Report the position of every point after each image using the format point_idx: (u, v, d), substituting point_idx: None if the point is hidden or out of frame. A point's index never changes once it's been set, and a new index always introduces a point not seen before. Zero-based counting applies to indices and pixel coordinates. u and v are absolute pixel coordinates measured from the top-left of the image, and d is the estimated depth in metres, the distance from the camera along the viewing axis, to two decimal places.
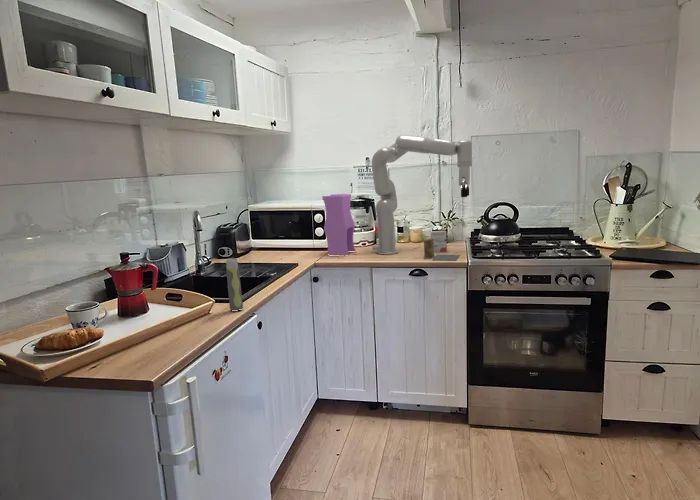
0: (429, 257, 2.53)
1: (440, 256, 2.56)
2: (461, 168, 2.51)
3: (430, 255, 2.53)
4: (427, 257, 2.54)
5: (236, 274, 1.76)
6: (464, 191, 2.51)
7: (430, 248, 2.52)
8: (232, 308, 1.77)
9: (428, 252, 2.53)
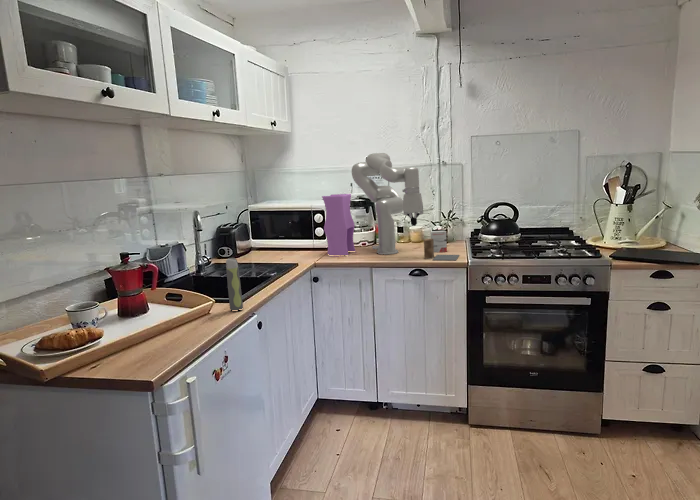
0: (429, 257, 2.53)
1: (440, 256, 2.56)
2: (420, 194, 2.51)
3: (430, 255, 2.53)
4: (427, 257, 2.54)
5: (236, 274, 1.76)
6: (416, 219, 2.55)
7: (430, 248, 2.52)
8: (232, 308, 1.77)
9: (428, 252, 2.53)
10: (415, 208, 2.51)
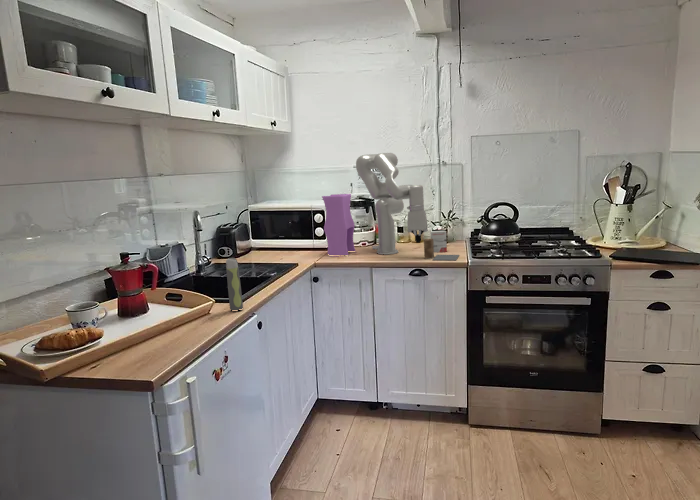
0: (429, 257, 2.53)
1: (440, 256, 2.56)
2: (424, 212, 2.52)
3: (430, 255, 2.53)
4: (427, 257, 2.54)
5: (236, 274, 1.76)
6: (420, 236, 2.56)
7: (430, 248, 2.52)
8: (232, 308, 1.77)
9: (428, 252, 2.53)
10: (419, 225, 2.52)
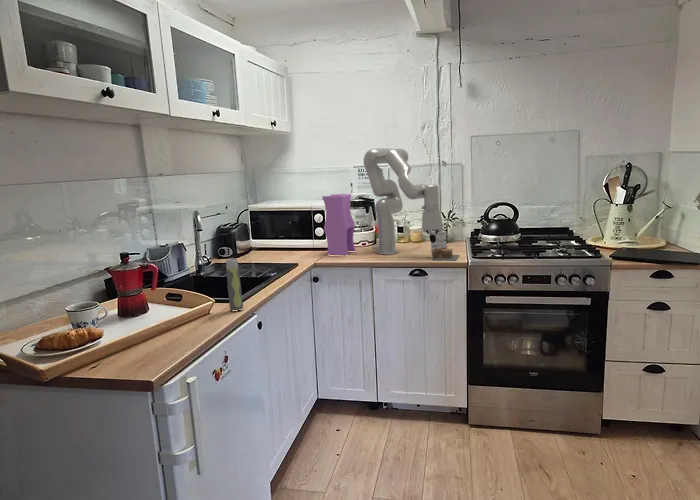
0: (433, 255, 2.53)
1: None
2: (440, 212, 2.49)
3: (435, 256, 2.52)
4: (433, 253, 2.52)
5: (236, 274, 1.76)
6: (435, 236, 2.54)
7: (442, 257, 2.51)
8: (232, 308, 1.77)
9: (438, 254, 2.52)
10: (434, 225, 2.50)
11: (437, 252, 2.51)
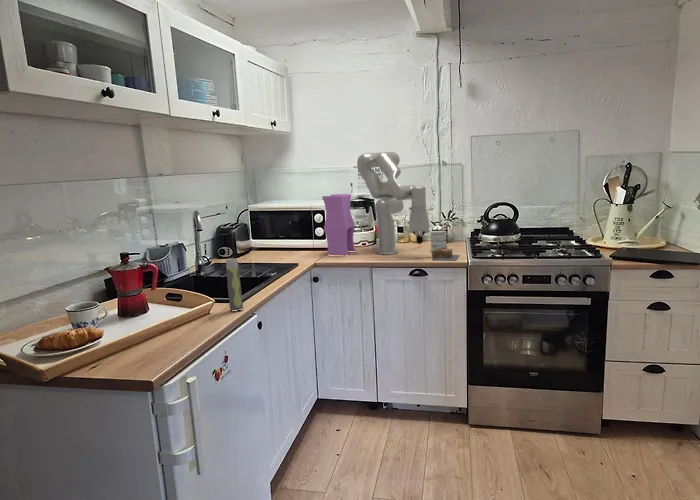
0: (433, 255, 2.53)
1: None
2: (426, 213, 2.52)
3: (435, 256, 2.52)
4: (433, 253, 2.52)
5: (236, 274, 1.76)
6: (422, 237, 2.56)
7: (442, 257, 2.51)
8: (232, 308, 1.77)
9: (438, 254, 2.52)
10: (421, 227, 2.52)
11: (437, 252, 2.51)
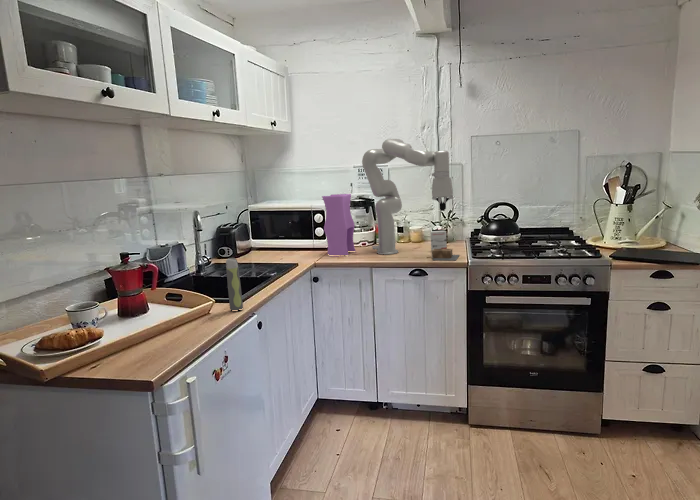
0: (433, 255, 2.53)
1: None
2: (450, 178, 2.44)
3: (435, 256, 2.52)
4: (433, 253, 2.52)
5: (236, 274, 1.76)
6: (445, 204, 2.49)
7: (442, 257, 2.51)
8: (232, 308, 1.77)
9: (438, 254, 2.52)
10: (445, 192, 2.45)
11: (437, 252, 2.51)
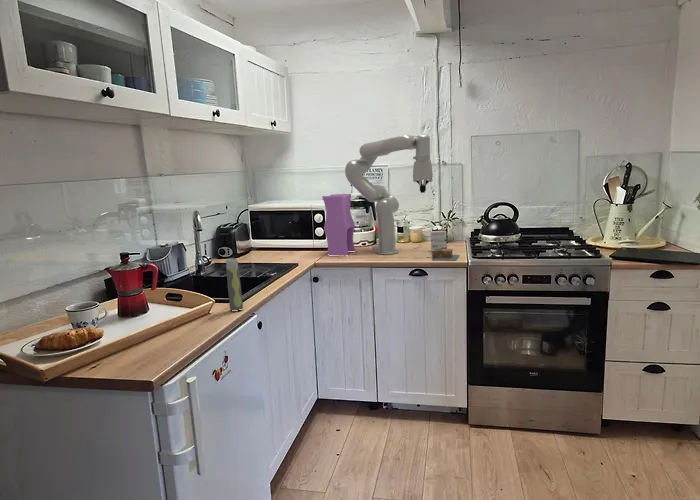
0: (433, 255, 2.53)
1: None
2: (430, 162, 2.57)
3: (435, 256, 2.52)
4: (433, 253, 2.52)
5: (236, 274, 1.76)
6: (425, 187, 2.61)
7: (442, 257, 2.51)
8: (232, 308, 1.77)
9: (438, 254, 2.52)
10: (425, 175, 2.57)
11: (437, 252, 2.51)
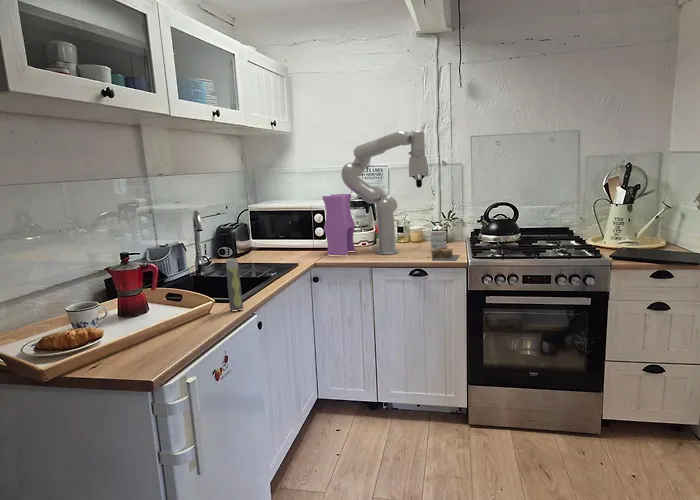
0: (433, 255, 2.53)
1: None
2: (425, 157, 2.60)
3: (435, 256, 2.52)
4: (433, 253, 2.52)
5: (236, 274, 1.76)
6: (421, 181, 2.64)
7: (442, 257, 2.51)
8: (232, 308, 1.77)
9: (438, 254, 2.52)
10: (420, 170, 2.60)
11: (437, 252, 2.51)
